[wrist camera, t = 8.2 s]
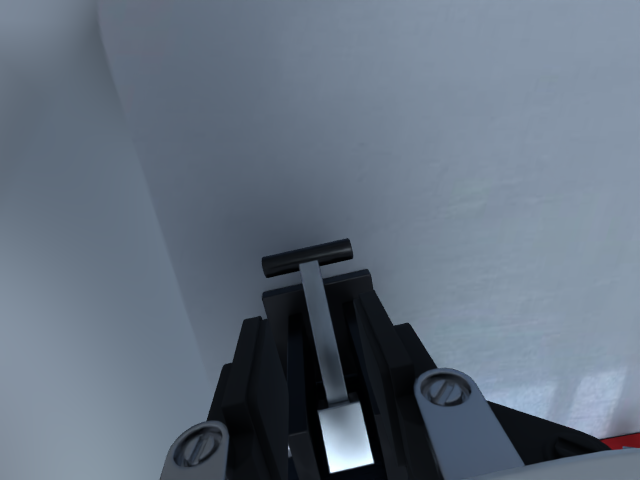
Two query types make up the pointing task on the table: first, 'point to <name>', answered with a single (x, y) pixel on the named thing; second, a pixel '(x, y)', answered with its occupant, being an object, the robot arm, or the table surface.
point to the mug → (623, 441)
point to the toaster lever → (328, 357)
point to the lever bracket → (304, 369)
